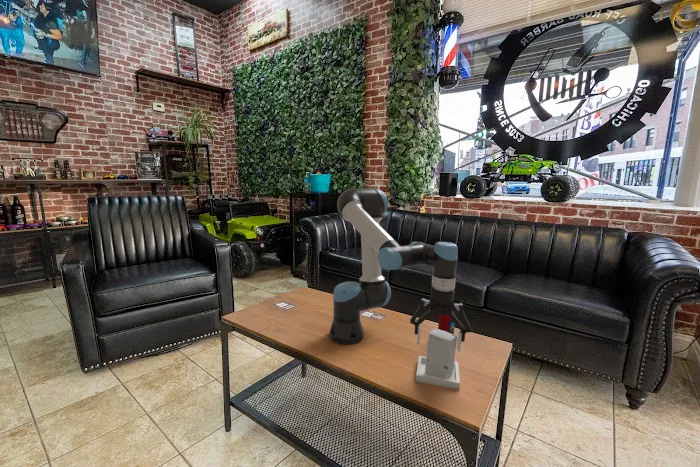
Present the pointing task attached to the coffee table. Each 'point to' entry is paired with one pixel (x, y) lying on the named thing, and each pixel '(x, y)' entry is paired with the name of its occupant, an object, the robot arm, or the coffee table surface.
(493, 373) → the coffee table surface
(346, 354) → the coffee table surface
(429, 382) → the tray
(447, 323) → the beverage can
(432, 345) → the skincare box
